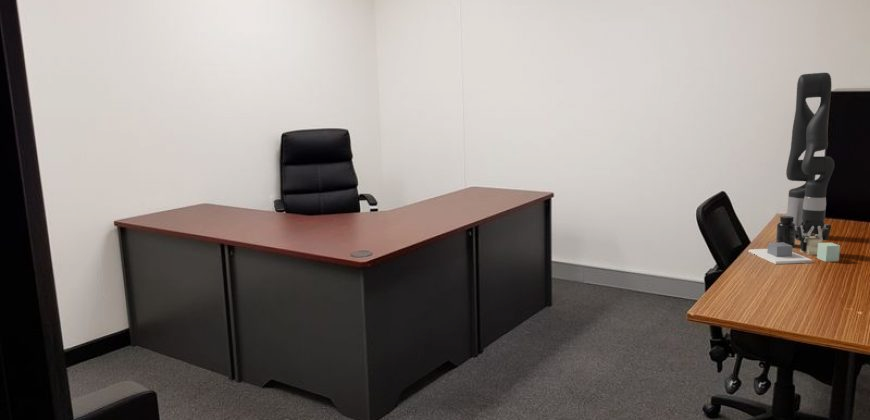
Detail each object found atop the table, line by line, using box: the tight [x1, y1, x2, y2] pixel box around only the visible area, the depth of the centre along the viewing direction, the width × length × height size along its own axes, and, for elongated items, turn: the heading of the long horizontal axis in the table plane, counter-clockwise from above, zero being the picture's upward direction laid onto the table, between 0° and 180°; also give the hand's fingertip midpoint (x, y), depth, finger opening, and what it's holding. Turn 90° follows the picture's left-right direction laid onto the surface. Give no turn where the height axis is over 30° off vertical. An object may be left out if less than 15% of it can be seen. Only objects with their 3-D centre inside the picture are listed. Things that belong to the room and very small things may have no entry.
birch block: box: [799, 235, 823, 256], centre depth 241 cm, size 5×5×6 cm
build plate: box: [748, 242, 813, 265], centre depth 236 cm, size 18×14×5 cm
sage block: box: [816, 241, 841, 263], centre depth 231 cm, size 5×5×6 cm
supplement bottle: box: [775, 215, 796, 247], centre depth 253 cm, size 7×7×12 cm
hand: (810, 250), depth 241 cm, fingers closed on birch block, 5 cm apart
